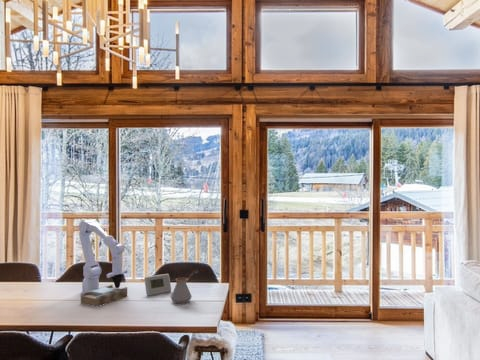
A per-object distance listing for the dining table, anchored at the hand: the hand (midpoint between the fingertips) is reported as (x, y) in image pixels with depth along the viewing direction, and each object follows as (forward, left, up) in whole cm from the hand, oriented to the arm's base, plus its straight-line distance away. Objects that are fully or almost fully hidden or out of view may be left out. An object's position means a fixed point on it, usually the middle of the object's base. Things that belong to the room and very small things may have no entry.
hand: (117, 287), depth 230 cm
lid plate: (0, -10, -1) cm, 10 cm away
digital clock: (+18, +15, -5) cm, 24 cm away
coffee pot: (+41, +12, -5) cm, 43 cm away
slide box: (0, -10, -5) cm, 11 cm away
